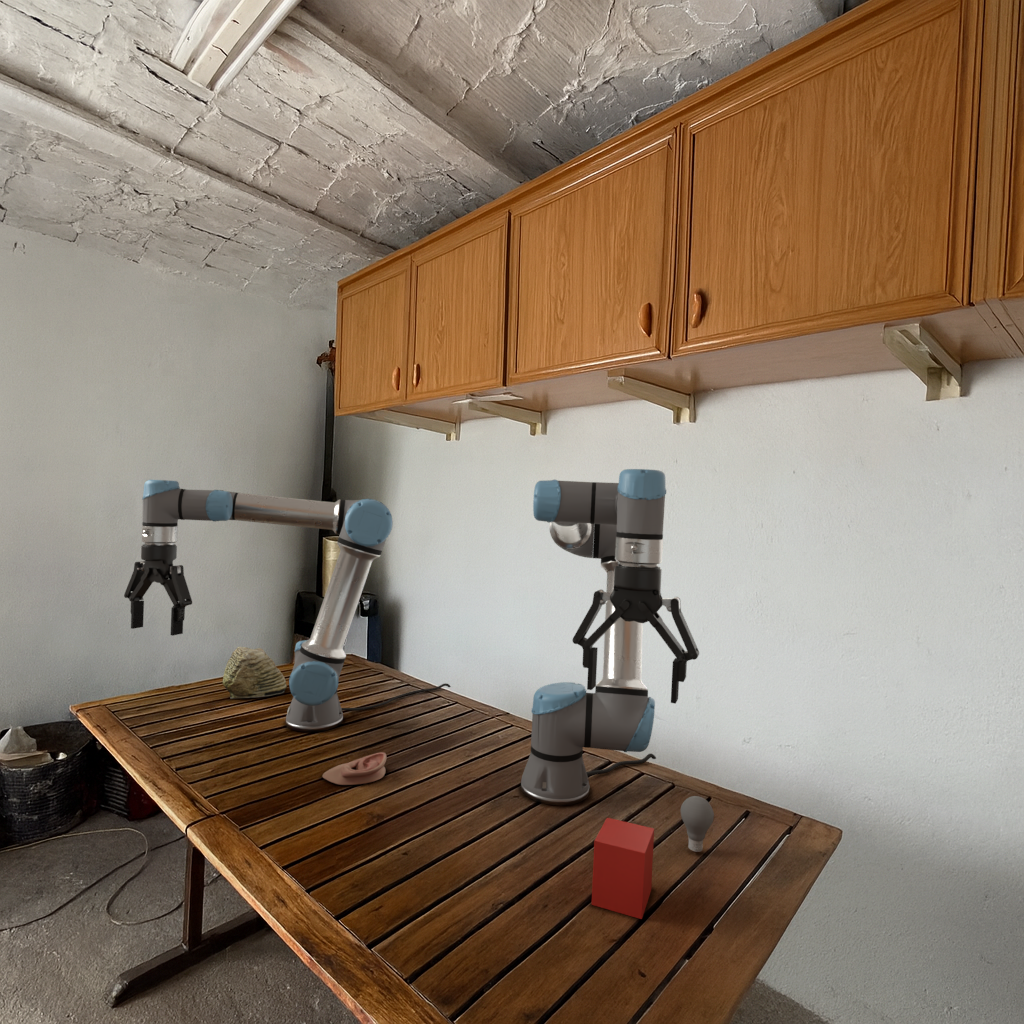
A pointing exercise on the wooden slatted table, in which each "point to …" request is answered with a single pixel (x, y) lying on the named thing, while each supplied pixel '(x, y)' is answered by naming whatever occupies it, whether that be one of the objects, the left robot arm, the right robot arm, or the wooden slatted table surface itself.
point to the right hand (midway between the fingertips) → (631, 694)
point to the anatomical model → (358, 770)
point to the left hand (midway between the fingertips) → (156, 631)
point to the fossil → (252, 674)
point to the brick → (623, 867)
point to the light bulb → (696, 820)
